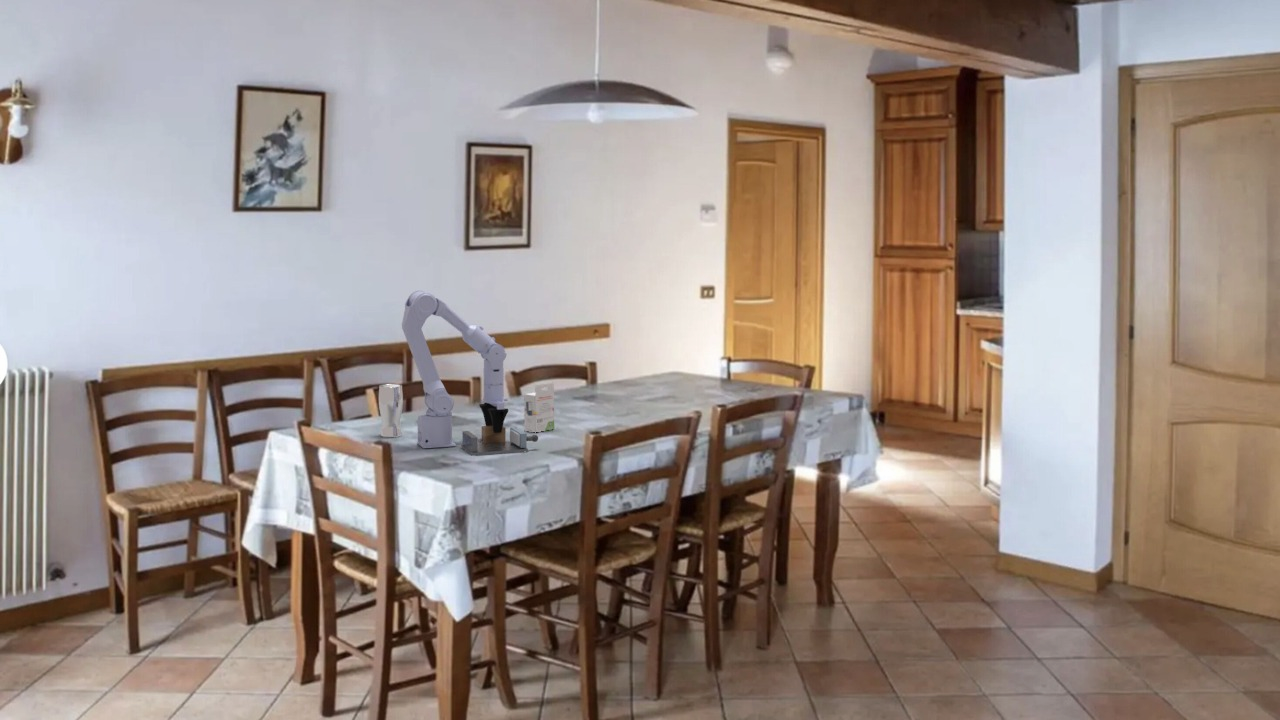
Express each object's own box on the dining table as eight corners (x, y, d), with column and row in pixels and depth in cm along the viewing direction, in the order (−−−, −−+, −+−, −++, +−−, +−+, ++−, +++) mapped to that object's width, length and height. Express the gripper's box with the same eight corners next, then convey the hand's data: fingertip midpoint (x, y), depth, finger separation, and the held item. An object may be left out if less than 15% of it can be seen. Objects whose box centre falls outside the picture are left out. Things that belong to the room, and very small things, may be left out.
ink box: (543, 427, 354) (543, 380, 352) (554, 429, 351) (555, 382, 349) (523, 431, 347) (523, 383, 345) (535, 433, 344) (535, 385, 342)
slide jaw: (519, 448, 317) (519, 433, 317) (508, 441, 326) (508, 427, 326) (539, 446, 320) (539, 432, 319) (528, 440, 329) (528, 426, 328)
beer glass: (374, 435, 337) (373, 385, 335) (394, 432, 342) (393, 383, 340) (388, 439, 332) (387, 388, 330) (407, 435, 337) (407, 385, 335)
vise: (472, 455, 311) (472, 438, 310) (460, 447, 322) (460, 430, 321) (528, 451, 317) (528, 434, 317) (515, 443, 328) (515, 427, 328)
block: (485, 444, 328) (485, 428, 327) (481, 441, 331) (481, 426, 331) (505, 442, 330) (505, 427, 330) (501, 440, 334) (501, 425, 333)
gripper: (514, 386, 324) (514, 433, 325) (499, 379, 337) (499, 424, 339) (490, 388, 321) (490, 435, 323) (476, 380, 334) (476, 426, 336)
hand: (493, 430), depth 330 cm, fingers open, 7 cm apart
